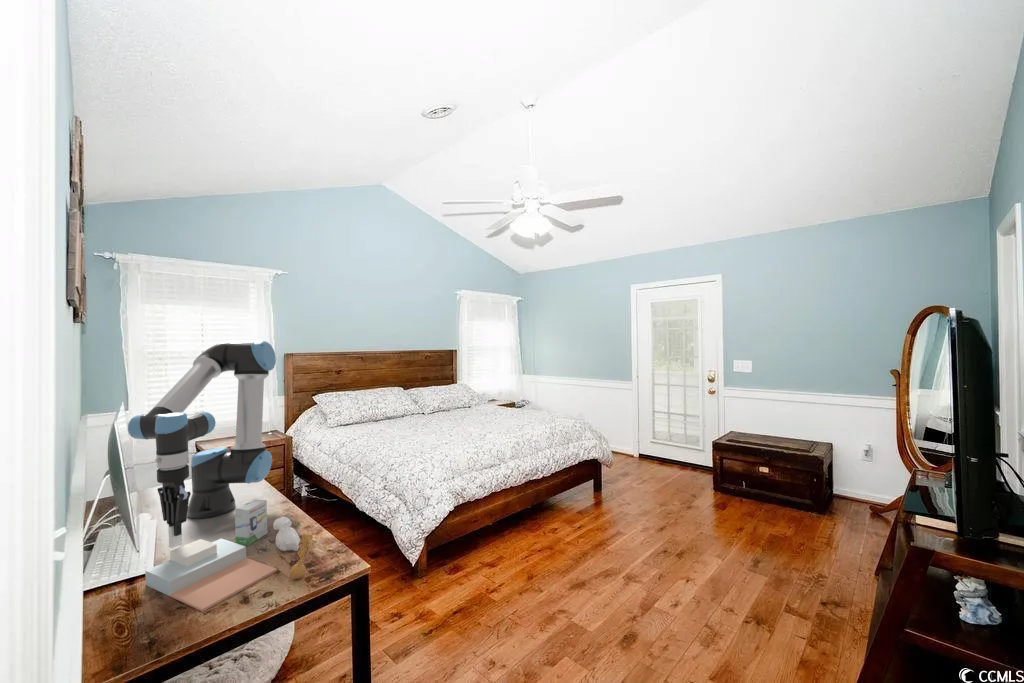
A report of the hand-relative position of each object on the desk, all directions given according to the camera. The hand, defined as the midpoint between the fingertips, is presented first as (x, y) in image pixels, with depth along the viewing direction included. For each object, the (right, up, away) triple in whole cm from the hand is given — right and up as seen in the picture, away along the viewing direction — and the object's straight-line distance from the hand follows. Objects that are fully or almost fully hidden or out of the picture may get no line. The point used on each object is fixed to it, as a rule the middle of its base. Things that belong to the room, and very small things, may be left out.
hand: (175, 545), depth 131 cm
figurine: (+41, -6, -7) cm, 42 cm away
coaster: (+8, -1, -4) cm, 9 cm away
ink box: (+14, -5, +15) cm, 21 cm away
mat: (+22, -6, -10) cm, 25 cm away
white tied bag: (+29, -5, +9) cm, 30 cm away
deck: (+10, -5, -5) cm, 12 cm away
